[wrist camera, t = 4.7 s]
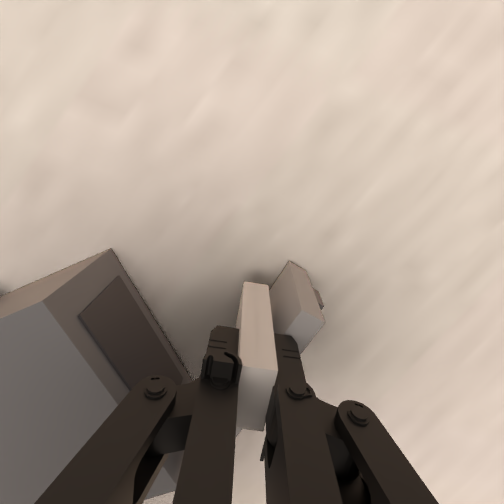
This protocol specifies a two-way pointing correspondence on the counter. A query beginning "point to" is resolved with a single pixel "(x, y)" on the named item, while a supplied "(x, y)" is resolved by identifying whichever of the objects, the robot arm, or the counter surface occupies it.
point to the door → (295, 307)
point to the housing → (73, 370)
